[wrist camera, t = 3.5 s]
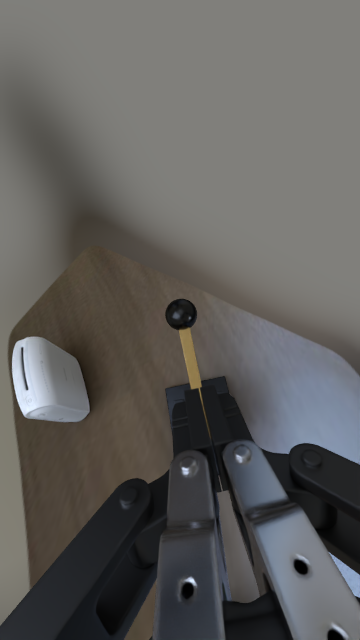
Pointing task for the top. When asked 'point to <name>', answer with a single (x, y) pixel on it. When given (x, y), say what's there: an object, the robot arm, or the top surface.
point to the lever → (185, 336)
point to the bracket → (178, 394)
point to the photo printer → (48, 382)
